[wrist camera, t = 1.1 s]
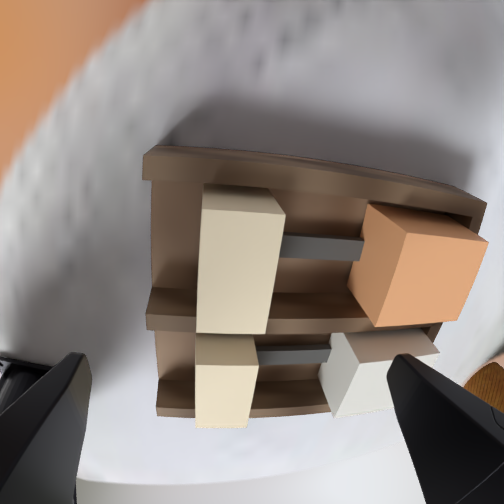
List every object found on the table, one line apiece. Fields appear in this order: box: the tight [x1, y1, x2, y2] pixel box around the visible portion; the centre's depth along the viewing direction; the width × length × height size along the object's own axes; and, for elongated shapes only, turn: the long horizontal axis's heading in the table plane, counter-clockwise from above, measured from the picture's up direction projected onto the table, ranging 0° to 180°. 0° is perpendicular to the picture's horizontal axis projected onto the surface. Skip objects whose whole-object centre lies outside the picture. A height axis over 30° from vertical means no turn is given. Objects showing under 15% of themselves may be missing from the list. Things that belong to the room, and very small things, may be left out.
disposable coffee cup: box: [463, 362, 504, 413], centre depth 24 cm, size 10×10×12 cm
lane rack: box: [142, 145, 487, 418], centre depth 18 cm, size 18×16×3 cm
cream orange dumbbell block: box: [196, 183, 489, 334], centre depth 15 cm, size 14×6×4 cm, turn 83°
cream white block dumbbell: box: [195, 328, 440, 428], centre depth 19 cm, size 14×6×4 cm, turn 83°
